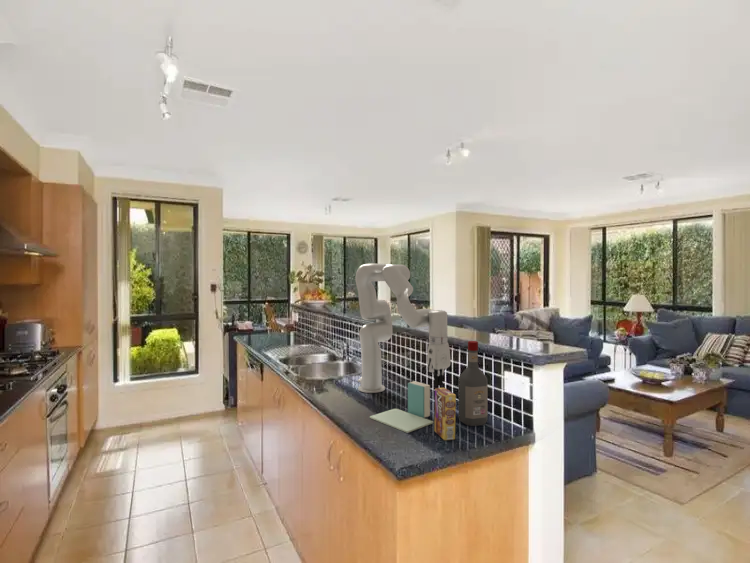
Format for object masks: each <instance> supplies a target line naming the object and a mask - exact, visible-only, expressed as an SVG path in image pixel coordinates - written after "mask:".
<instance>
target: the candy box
mask: <svg viewBox="0 0 750 563" xmlns="http://www.w3.org/2000/svg"><path fill="white" fill-rule="evenodd" d="M456 400H457V395H456V394H455V393H453V392H452V391H451V390H449V389H448V388H446V387H437V388H434V430H433V431H434V433H436V434H437V435H438V436H439V437H440V438H441V439H442V440H443V441H452V440H453V441H454V440H456V407H457V406H456V403H457V401H456Z"/></svg>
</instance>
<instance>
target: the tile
mask: <svg viewBox="0 0 750 563" xmlns="http://www.w3.org/2000/svg"><path fill="white" fill-rule="evenodd" d="M430 408H431V385H430V384H426V383H424V382H420V381H416V380H413V381H410V382H407V412H408V413H411V414H413V415H416V416H419V417H422V418H425V419H426V418H427V417H431V409H430Z"/></svg>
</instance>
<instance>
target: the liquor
mask: <svg viewBox="0 0 750 563" xmlns="http://www.w3.org/2000/svg"><path fill="white" fill-rule="evenodd" d="M467 350H468V351H467V353H468V355H467V356H468V357H467V367H466V368H465V369H464V370H463V371H462V373H461V374H460V375H459V376H458V420H459V421H460V422H461V423H462V424H464V425H466V426H469V427H477V426H485V425H486V423H487V422H488V415H489V414H488V410H489V409H488V397H489V396H488V387H489V386H488V380H489V379H488V378H487V375H486V374H484V372H483V371H482V370H481V369H480V367H479V358H478V357H479V356H478V353H479V352H478V350H479V341H478V340H477V341H476V340H468V341H467Z"/></svg>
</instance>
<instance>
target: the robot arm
mask: <svg viewBox="0 0 750 563" xmlns="http://www.w3.org/2000/svg"><path fill="white" fill-rule="evenodd" d="M410 279H411V270H410V269H409V267H408V266H407V265H405V264H391V263H373V262H372V263H365V264H361V265H360V266H359V267H358V268H357V271H356V273H355V284H356V290H357V295H358V303H359V306H358V307H359V313H360V314H359V315H360V317H361V319H363V320H364V321H375V322H371V323H370V322H369V323H366V324H364V325H362V326H361V327H360V329H359V332H358V333H359V335H358V336H359V341H360V346H361V347H360V350H361V352H360V353H361V377H360V378H359V379H357V382H358V383H360V385H359V386H358V391H359V392H362V393H366V394H367V393H368V394H376V393H381V392H384V391H385V389H386V388H385V385H384V384H382V378H383V376H382V349H381V347H380V345H379V344H380V343H382V342H383V343H384V342H387V341H389V340H390V339H391V338H392V335H393V322H392V321H393V320H392V312H391V307H390V305H389V303H388V302H387V301H385V300H384V299H377V291H376V288H375V286H374V285H373V283H372V282H385V284H386V285H387V286H388V287H389V289H390V290H391V292H392V293H393V295H394V296H395V297H396V308H397V311H398V313H399V315H400V317H401V318H402V320H403V321H404V322H405V324H406V325H408V326H409V327H410V328H412V329H417V328H425V327H428V347H427V358H426V363H427V364H426V366H427V368H428V372H429V373H431V374H433V377H434V379H433V382H434V383H433V385H435V386H439V387H440V386H443V384H444V383H443V382H444V380H443V379H444V375H445V370H447V369H448V368H449V367H450V366H451V350H450V345H449V344H450V343H449V342H448V313H447V311H446V310H442V309H441V310H440V309H437V310H435V309H431V308H418V309H416V308H415V307H414V306H413V304H412V303H411V301H410V298H409V297H410V296H412V294H413V292H414V287H413V285H412V284H411V282H410V281H409V280H410Z"/></svg>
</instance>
